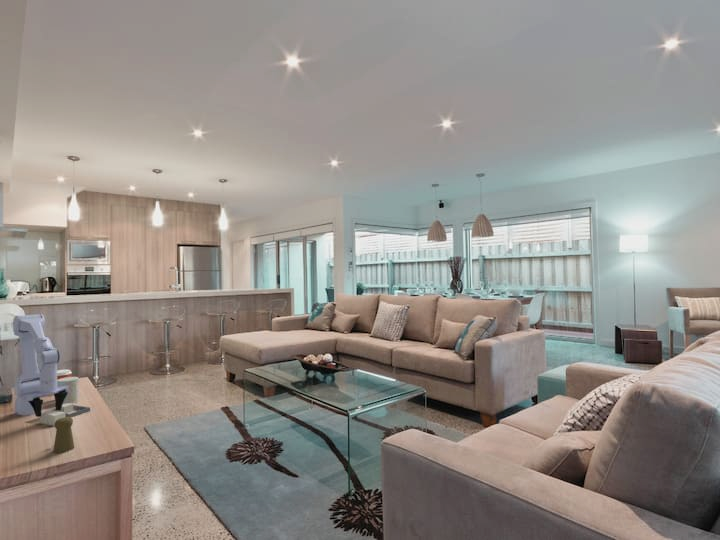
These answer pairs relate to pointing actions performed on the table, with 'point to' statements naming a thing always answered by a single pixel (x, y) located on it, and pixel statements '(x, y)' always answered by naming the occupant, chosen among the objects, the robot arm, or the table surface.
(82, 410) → the bin
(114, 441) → the table surface
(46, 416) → the off-white stacked cube
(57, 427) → the cork
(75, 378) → the cup
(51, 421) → the off-white block
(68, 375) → the paper cup
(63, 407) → the cream matte cube
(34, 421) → the brown flat slab
